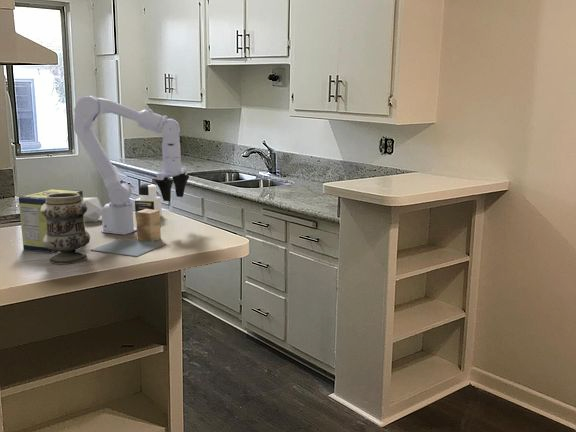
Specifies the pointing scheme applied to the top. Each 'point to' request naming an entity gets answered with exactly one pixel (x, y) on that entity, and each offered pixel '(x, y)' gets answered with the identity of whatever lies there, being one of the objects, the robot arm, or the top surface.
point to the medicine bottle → (148, 199)
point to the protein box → (37, 219)
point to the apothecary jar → (65, 227)
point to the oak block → (148, 225)
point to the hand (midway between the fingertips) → (173, 198)
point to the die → (92, 209)
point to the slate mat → (128, 247)
